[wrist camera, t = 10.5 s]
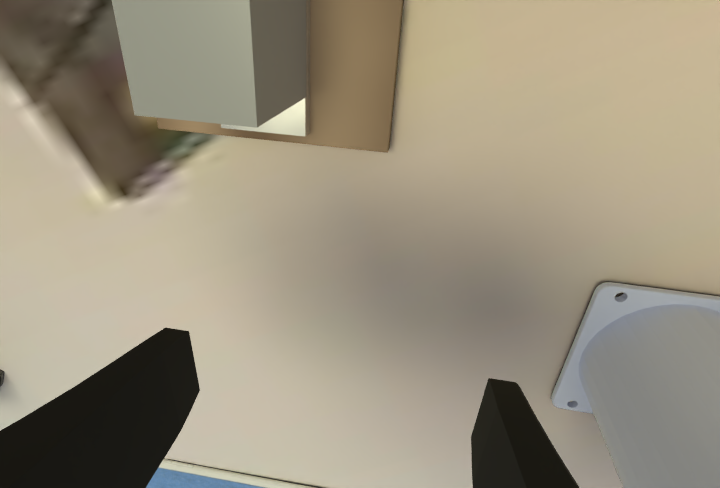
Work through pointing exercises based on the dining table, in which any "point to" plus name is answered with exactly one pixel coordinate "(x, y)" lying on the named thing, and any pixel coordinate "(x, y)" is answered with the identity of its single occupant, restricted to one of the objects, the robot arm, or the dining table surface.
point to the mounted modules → (213, 58)
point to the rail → (298, 114)
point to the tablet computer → (208, 478)
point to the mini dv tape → (1, 377)
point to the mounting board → (341, 77)
